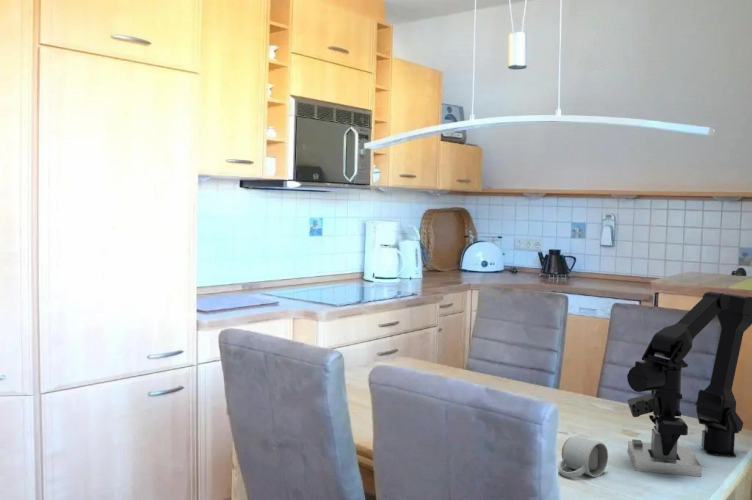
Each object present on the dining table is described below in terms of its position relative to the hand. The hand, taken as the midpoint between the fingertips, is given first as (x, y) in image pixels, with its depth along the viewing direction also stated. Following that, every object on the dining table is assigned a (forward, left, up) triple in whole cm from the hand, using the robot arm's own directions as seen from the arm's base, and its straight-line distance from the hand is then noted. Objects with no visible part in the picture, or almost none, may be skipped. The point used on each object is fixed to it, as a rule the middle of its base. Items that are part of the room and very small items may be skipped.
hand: (664, 452), depth 165 cm
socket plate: (0, -1, -3) cm, 3 cm away
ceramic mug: (+19, +11, -3) cm, 22 cm away
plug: (0, 0, -1) cm, 1 cm away
